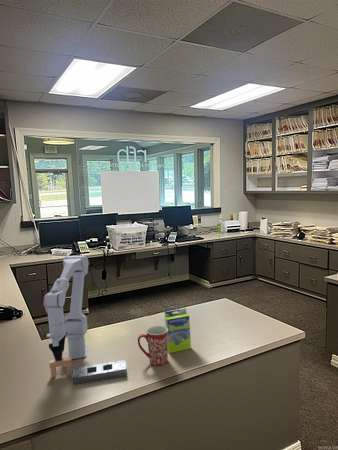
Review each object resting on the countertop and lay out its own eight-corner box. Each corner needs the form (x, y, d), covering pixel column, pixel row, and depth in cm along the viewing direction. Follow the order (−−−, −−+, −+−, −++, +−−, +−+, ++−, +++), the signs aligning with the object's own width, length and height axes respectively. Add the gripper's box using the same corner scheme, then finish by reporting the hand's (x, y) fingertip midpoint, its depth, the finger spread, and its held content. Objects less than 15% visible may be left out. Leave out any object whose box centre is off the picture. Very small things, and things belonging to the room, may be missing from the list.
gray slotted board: (74, 375, 129) (73, 368, 129) (125, 367, 133) (125, 359, 133) (73, 385, 122) (72, 378, 122) (127, 376, 126) (126, 368, 126)
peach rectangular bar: (51, 374, 131) (50, 360, 130) (72, 371, 133) (71, 356, 132) (50, 377, 129) (49, 363, 128) (72, 374, 130) (70, 359, 130)
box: (169, 353, 142) (166, 315, 140) (166, 349, 145) (163, 311, 144) (191, 348, 145) (189, 310, 143) (188, 344, 149) (186, 307, 147)
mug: (170, 355, 140) (168, 324, 139) (169, 366, 131) (167, 334, 130) (140, 356, 141) (138, 326, 139) (138, 368, 132) (135, 335, 130)
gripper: (48, 317, 135) (51, 349, 136) (42, 331, 121) (46, 366, 122) (66, 315, 136) (69, 346, 137) (62, 328, 122) (66, 363, 123)
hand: (59, 355), depth 130 cm, fingers open, 7 cm apart
